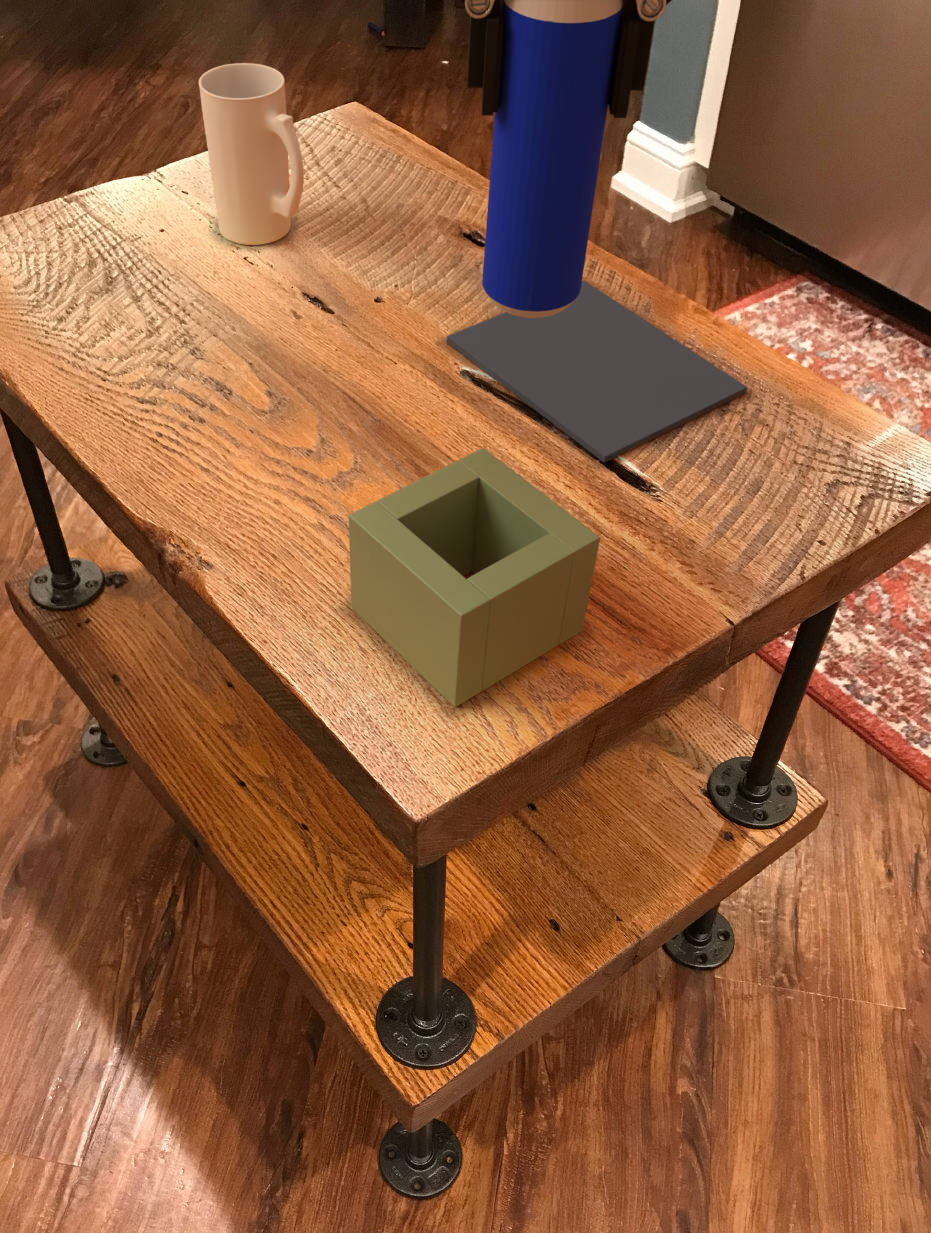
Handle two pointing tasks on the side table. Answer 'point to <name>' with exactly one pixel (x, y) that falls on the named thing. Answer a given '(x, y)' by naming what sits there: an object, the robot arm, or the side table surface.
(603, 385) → the mat
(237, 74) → the mug
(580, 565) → the can holder
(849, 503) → the side table surface
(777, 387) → the side table surface
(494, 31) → the robot arm
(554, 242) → the beverage can
